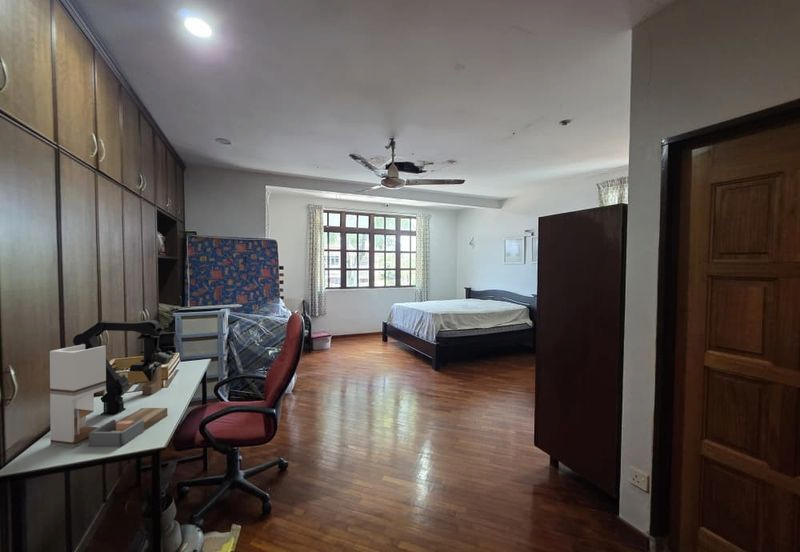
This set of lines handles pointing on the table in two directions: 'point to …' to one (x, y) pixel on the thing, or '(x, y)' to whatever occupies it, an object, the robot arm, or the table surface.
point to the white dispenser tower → (74, 392)
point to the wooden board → (147, 416)
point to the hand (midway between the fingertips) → (150, 381)
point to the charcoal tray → (114, 435)
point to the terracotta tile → (123, 425)
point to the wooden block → (153, 384)
